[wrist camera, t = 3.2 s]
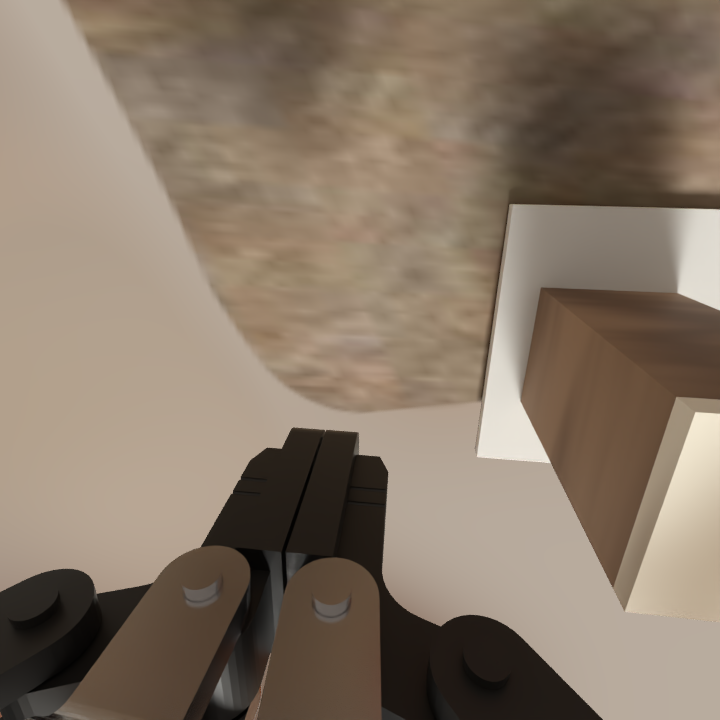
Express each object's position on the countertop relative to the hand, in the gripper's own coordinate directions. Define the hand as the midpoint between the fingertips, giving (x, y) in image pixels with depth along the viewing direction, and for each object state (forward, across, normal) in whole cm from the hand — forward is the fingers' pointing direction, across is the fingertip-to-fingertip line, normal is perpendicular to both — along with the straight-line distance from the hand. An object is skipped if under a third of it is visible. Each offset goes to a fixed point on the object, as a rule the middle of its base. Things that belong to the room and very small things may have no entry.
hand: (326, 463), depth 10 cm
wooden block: (+9, -9, 0) cm, 13 cm away
